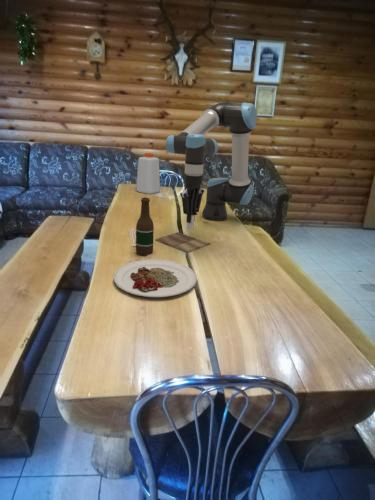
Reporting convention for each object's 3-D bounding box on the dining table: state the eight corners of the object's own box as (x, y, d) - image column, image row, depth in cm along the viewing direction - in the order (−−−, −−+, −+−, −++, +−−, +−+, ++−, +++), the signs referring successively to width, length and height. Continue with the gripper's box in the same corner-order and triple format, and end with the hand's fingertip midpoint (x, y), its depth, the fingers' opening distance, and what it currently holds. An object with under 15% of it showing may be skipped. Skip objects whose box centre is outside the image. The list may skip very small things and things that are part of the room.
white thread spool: (149, 195, 249) (150, 155, 239) (133, 191, 257) (133, 152, 246) (162, 191, 261) (163, 154, 251) (146, 188, 269) (147, 151, 258)
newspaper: (128, 232, 174) (128, 228, 173) (142, 232, 176) (142, 228, 175) (131, 249, 153) (131, 245, 152) (147, 249, 154) (147, 245, 154)
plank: (196, 241, 166) (196, 238, 165) (209, 245, 161) (210, 242, 160) (174, 249, 154) (174, 246, 154) (187, 253, 150) (187, 251, 149)
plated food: (194, 264, 140) (194, 257, 139) (198, 303, 112) (199, 293, 111) (120, 261, 139) (120, 254, 137) (106, 299, 111) (106, 290, 110)
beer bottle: (156, 251, 151) (158, 197, 142) (148, 257, 144) (150, 201, 135) (140, 248, 153) (140, 195, 144) (132, 254, 146) (132, 198, 137)
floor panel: (178, 234, 173) (178, 232, 173) (196, 240, 166) (196, 238, 165) (155, 241, 162) (155, 239, 161) (173, 248, 155) (173, 246, 154)
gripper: (196, 171, 146) (193, 224, 155) (175, 174, 137) (173, 230, 146) (210, 174, 142) (206, 228, 151) (190, 177, 133) (186, 234, 142)
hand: (190, 229), depth 148 cm, fingers closed
